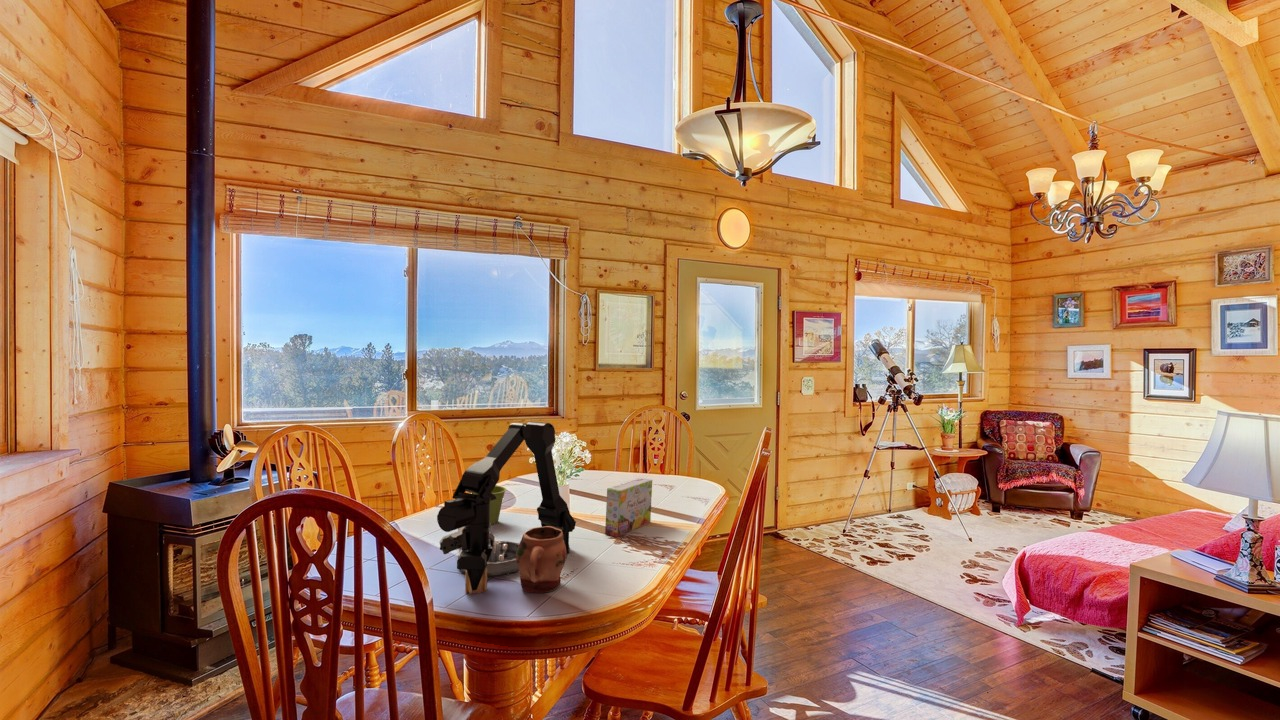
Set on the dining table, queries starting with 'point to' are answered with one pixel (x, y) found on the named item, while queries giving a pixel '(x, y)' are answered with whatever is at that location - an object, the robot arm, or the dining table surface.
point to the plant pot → (496, 503)
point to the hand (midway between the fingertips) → (476, 585)
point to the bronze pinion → (481, 586)
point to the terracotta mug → (541, 559)
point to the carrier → (500, 559)
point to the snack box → (628, 506)
